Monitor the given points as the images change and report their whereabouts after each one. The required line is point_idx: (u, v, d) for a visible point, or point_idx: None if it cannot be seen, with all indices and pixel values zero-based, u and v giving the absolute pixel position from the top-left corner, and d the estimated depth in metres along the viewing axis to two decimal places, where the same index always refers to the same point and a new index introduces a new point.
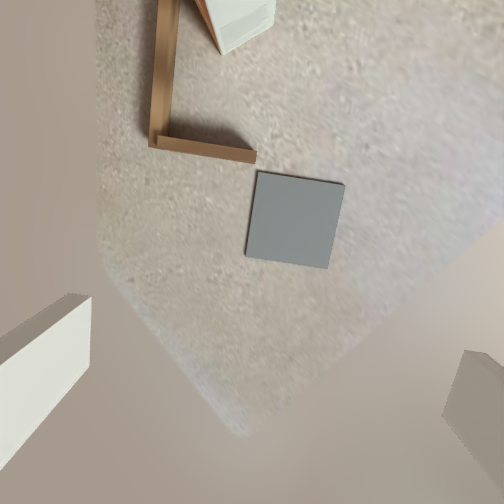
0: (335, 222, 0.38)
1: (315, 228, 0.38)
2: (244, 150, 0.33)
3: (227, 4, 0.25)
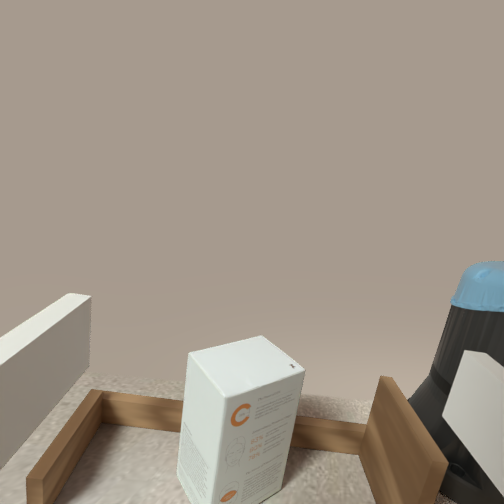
0: None
1: None
2: (50, 464, 0.25)
3: (192, 397, 0.27)
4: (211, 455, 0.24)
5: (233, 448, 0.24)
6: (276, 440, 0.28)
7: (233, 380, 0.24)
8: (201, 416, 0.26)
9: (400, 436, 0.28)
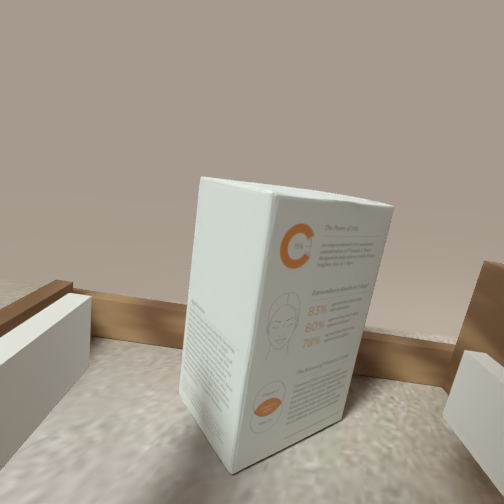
0: None
1: None
2: None
3: (206, 247, 0.16)
4: (241, 324, 0.14)
5: (281, 313, 0.14)
6: (344, 325, 0.17)
7: (281, 190, 0.14)
8: (222, 266, 0.15)
9: None
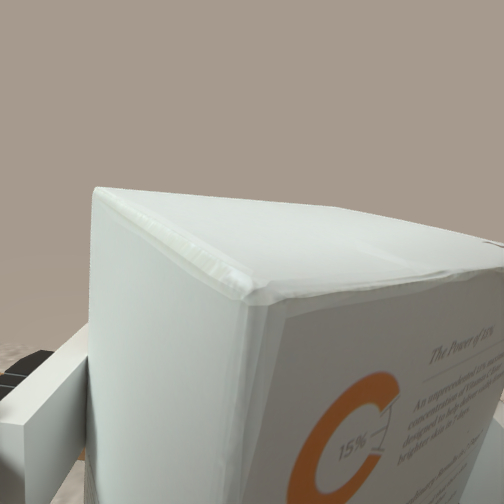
0: None
1: None
2: None
3: (100, 361, 0.06)
4: None
5: None
6: None
7: (289, 239, 0.04)
8: (122, 443, 0.05)
9: None
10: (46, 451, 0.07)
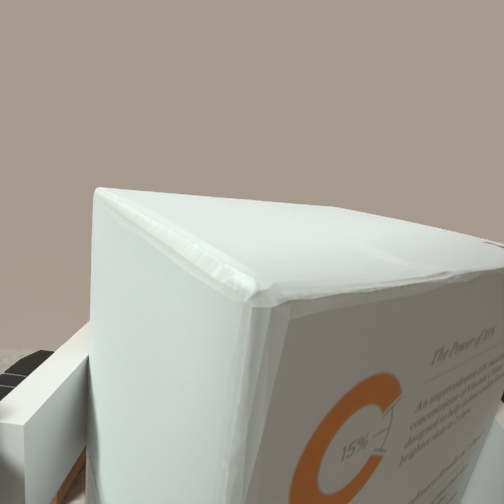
0: None
1: None
2: None
3: (102, 361, 0.06)
4: None
5: None
6: None
7: (291, 240, 0.04)
8: (123, 444, 0.05)
9: None
10: (46, 451, 0.07)
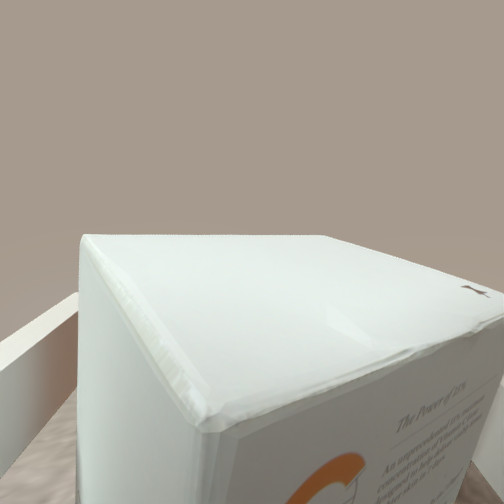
0: None
1: None
2: None
3: (87, 407, 0.07)
4: None
5: None
6: None
7: (261, 316, 0.04)
8: (105, 496, 0.05)
9: None
10: None
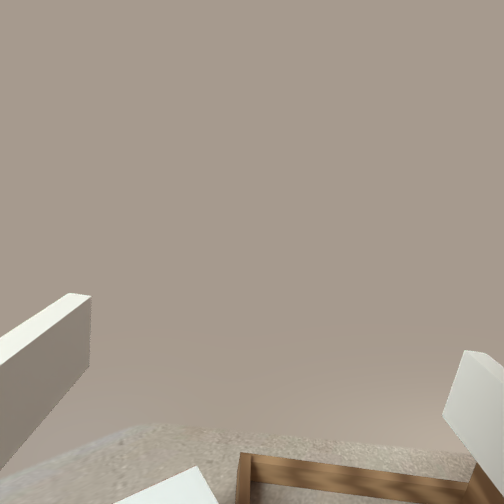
0: None
1: None
2: None
3: None
4: None
5: None
6: None
7: None
8: None
9: None
10: None
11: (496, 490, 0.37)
